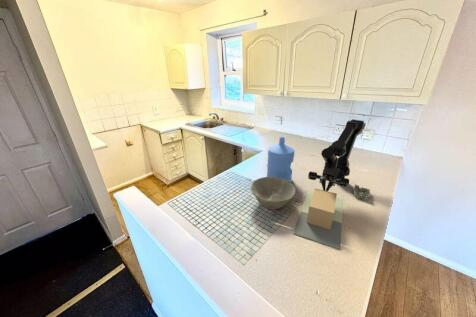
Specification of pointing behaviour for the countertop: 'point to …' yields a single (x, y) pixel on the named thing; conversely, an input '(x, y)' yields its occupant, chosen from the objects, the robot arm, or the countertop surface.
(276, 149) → the water jug
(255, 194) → the ceramic bowl
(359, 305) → the countertop surface
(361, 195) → the egg carton
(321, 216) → the kraft carton
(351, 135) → the robot arm
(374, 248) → the countertop surface
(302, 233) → the board
